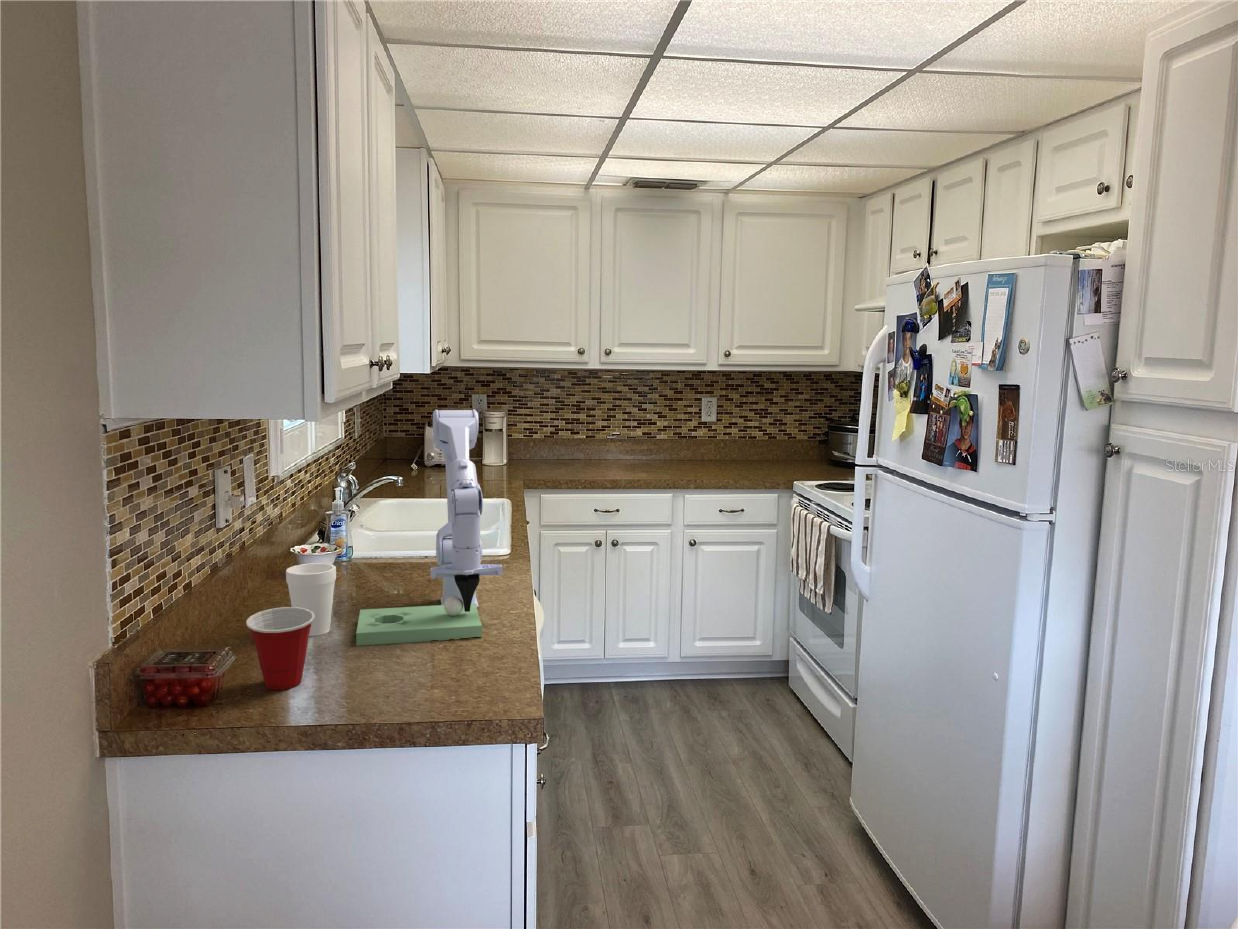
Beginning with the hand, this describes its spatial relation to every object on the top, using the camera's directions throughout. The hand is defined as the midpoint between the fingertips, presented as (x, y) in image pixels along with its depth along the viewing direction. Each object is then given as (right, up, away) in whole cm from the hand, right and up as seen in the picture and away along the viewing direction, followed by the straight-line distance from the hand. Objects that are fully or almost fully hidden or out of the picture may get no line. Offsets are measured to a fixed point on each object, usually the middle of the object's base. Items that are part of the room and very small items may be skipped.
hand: (467, 610), depth 180 cm
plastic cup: (-26, -7, -32) cm, 42 cm away
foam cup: (-30, -4, -4) cm, 31 cm away
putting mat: (-9, -4, -2) cm, 10 cm away
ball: (-3, +1, -1) cm, 3 cm away
